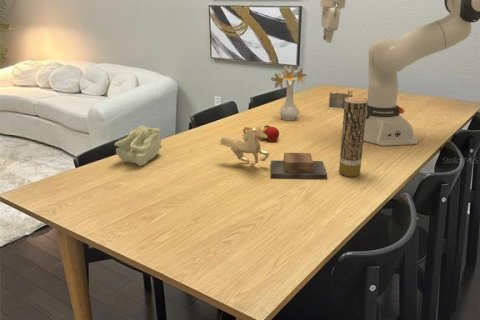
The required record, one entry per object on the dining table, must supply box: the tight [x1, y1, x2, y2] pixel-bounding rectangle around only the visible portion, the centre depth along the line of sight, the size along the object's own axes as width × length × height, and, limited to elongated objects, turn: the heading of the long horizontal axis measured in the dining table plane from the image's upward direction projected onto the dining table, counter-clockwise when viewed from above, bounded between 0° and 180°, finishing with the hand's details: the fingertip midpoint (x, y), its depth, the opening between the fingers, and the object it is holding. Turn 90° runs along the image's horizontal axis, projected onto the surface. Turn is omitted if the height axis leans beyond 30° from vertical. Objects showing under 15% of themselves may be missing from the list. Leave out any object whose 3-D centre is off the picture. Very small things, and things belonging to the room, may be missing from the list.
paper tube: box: [338, 96, 368, 177], centre depth 133 cm, size 7×7×25 cm
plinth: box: [270, 152, 328, 180], centre depth 139 cm, size 18×12×5 cm, turn 86°
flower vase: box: [270, 65, 308, 121], centre depth 194 cm, size 13×18×25 cm
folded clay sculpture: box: [113, 124, 163, 167], centre depth 149 cm, size 18×13×16 cm
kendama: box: [242, 124, 280, 142], centre depth 173 cm, size 8×6×18 cm
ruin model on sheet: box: [328, 90, 354, 109], centre depth 218 cm, size 11×3×10 cm, turn 61°
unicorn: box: [219, 126, 270, 166], centre depth 140 cm, size 20×4×17 cm, turn 60°
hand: (326, 41), depth 158 cm, fingers open, 8 cm apart
